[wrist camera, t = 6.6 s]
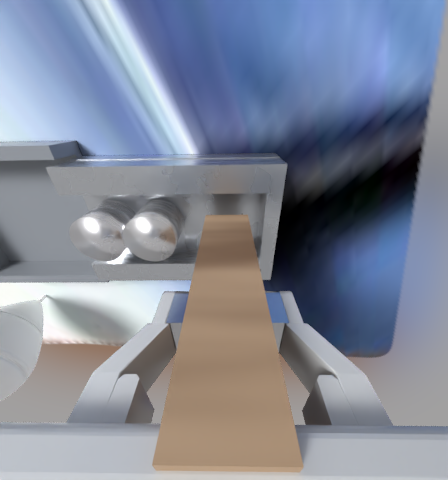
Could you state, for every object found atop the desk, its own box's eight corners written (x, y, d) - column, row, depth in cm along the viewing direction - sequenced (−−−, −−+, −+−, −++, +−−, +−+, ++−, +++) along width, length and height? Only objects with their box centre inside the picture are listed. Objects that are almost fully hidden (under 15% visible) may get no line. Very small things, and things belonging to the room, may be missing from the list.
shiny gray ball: (88, 200, 15) (59, 217, 12) (133, 199, 15) (114, 217, 12) (104, 239, 17) (81, 261, 14) (144, 238, 16) (129, 261, 14)
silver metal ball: (134, 201, 15) (114, 219, 12) (179, 197, 15) (168, 215, 12) (147, 239, 17) (132, 262, 14) (187, 237, 16) (180, 260, 14)
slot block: (81, 156, 14) (44, 166, 12) (274, 153, 14) (287, 163, 11) (118, 255, 19) (99, 280, 16) (263, 254, 19) (270, 280, 16)
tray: (-77, 143, 14) (-133, 148, 12) (76, 140, 14) (48, 145, 12) (13, 264, 20) (-14, 282, 18) (121, 263, 20) (108, 282, 18)
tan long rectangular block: (205, 214, 12) (152, 464, 3) (247, 214, 12) (303, 466, 3) (209, 273, 14) (184, 506, 6) (244, 272, 14) (273, 508, 6)
